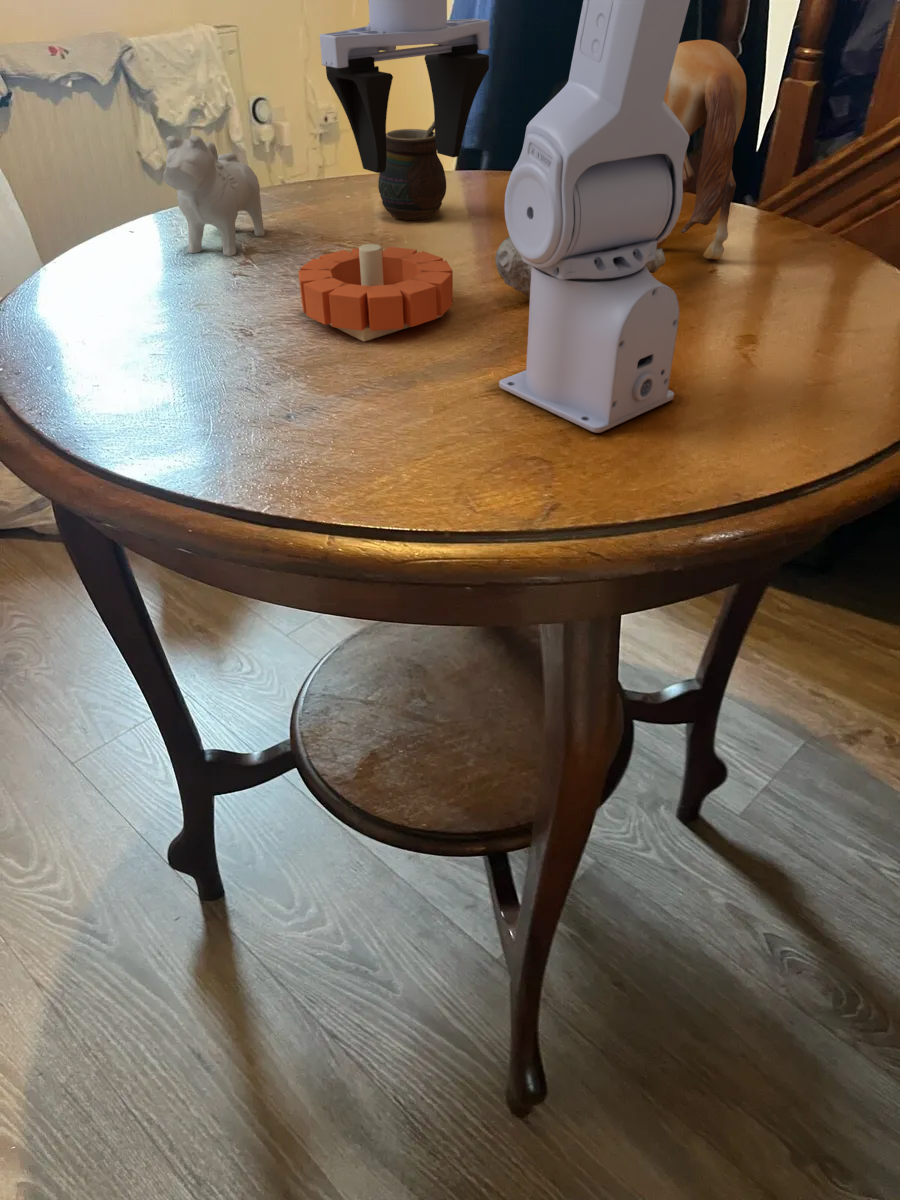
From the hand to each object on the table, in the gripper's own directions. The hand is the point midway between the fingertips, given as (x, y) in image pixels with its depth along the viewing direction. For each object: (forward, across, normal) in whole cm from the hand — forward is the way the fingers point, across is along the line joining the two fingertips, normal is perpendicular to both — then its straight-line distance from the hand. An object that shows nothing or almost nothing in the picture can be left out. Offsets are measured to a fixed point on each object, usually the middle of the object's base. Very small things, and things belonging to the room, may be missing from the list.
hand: (412, 162), depth 72 cm
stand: (+10, +6, +2) cm, 12 cm away
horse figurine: (+11, -26, +2) cm, 28 cm away
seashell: (+11, -10, +10) cm, 18 cm away
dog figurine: (+11, +6, -23) cm, 26 cm away
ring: (+10, +6, +2) cm, 11 cm away
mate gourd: (+11, -15, -19) cm, 27 cm away
